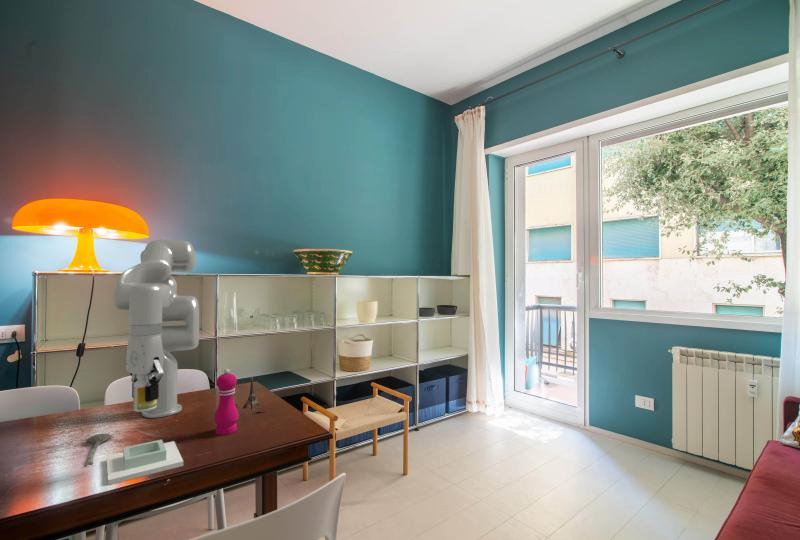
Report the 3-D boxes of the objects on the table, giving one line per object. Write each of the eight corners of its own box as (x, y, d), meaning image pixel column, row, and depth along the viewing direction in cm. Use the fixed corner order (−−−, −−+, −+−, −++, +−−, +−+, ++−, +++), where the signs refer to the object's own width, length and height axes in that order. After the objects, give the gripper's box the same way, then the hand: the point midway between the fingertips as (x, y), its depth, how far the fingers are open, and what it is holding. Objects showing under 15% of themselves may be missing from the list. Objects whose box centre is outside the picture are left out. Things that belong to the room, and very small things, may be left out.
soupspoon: (114, 438, 125) (88, 443, 122) (114, 427, 125) (88, 432, 122) (103, 464, 106) (72, 471, 103) (103, 451, 106) (71, 458, 103)
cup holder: (108, 485, 95) (108, 469, 95) (106, 460, 108) (106, 446, 108) (183, 465, 105) (183, 451, 105) (174, 445, 117) (174, 432, 117)
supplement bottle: (161, 406, 108) (162, 370, 108) (143, 413, 103) (143, 375, 103) (147, 404, 110) (147, 369, 110) (128, 410, 105) (128, 373, 105)
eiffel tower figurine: (235, 405, 155) (235, 370, 156) (262, 401, 160) (262, 368, 160) (236, 417, 142) (236, 379, 142) (266, 413, 146) (266, 377, 146)
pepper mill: (229, 436, 124) (229, 372, 124) (208, 434, 125) (209, 371, 125) (243, 427, 131) (243, 366, 131) (223, 426, 132) (223, 365, 132)
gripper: (113, 330, 108) (113, 397, 108) (149, 334, 99) (148, 407, 99) (143, 327, 114) (142, 390, 114) (178, 331, 106) (177, 399, 106)
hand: (145, 397), depth 107 cm, fingers closed on supplement bottle, 5 cm apart
